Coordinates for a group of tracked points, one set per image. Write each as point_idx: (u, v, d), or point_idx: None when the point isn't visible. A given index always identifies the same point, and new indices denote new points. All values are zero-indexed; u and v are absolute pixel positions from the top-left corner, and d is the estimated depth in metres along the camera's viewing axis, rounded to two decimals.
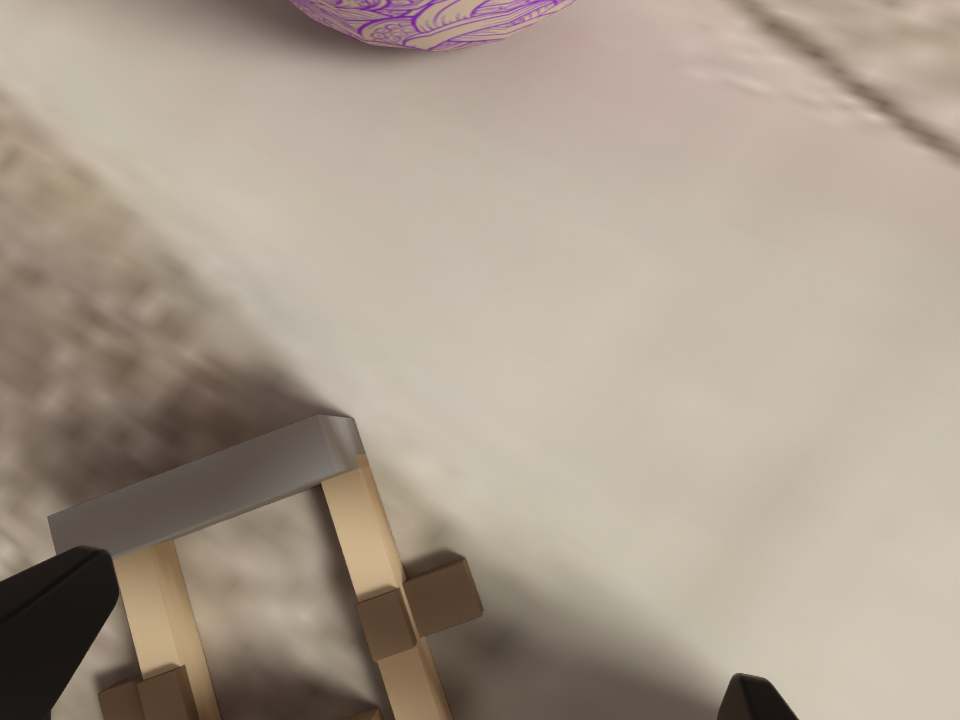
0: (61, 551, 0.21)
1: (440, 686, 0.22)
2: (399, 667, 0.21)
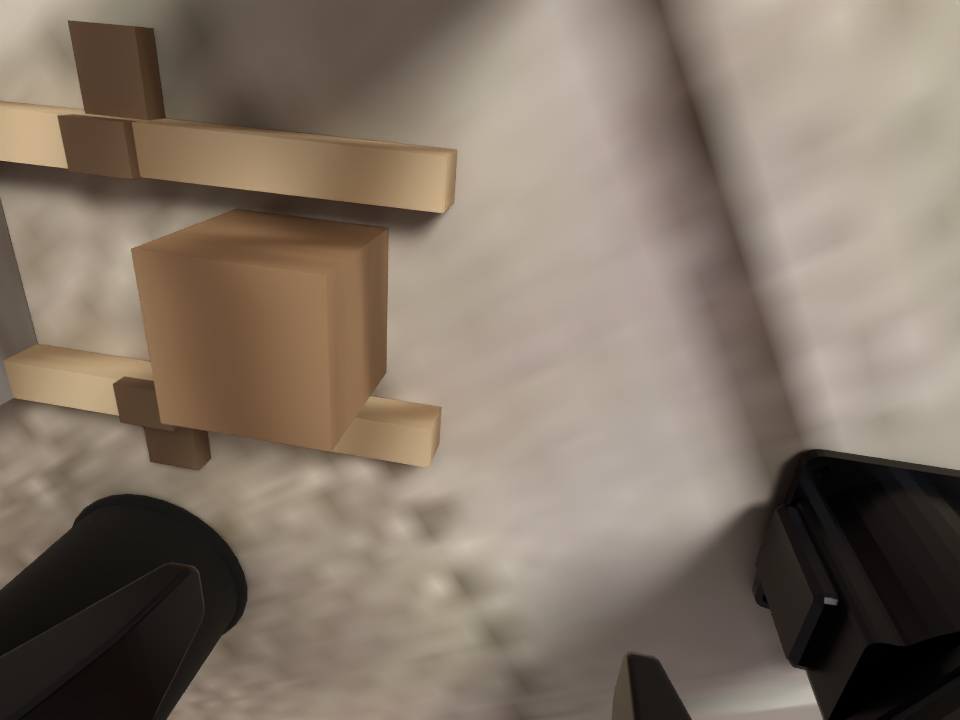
0: None
1: (222, 125, 0.18)
2: (154, 154, 0.17)
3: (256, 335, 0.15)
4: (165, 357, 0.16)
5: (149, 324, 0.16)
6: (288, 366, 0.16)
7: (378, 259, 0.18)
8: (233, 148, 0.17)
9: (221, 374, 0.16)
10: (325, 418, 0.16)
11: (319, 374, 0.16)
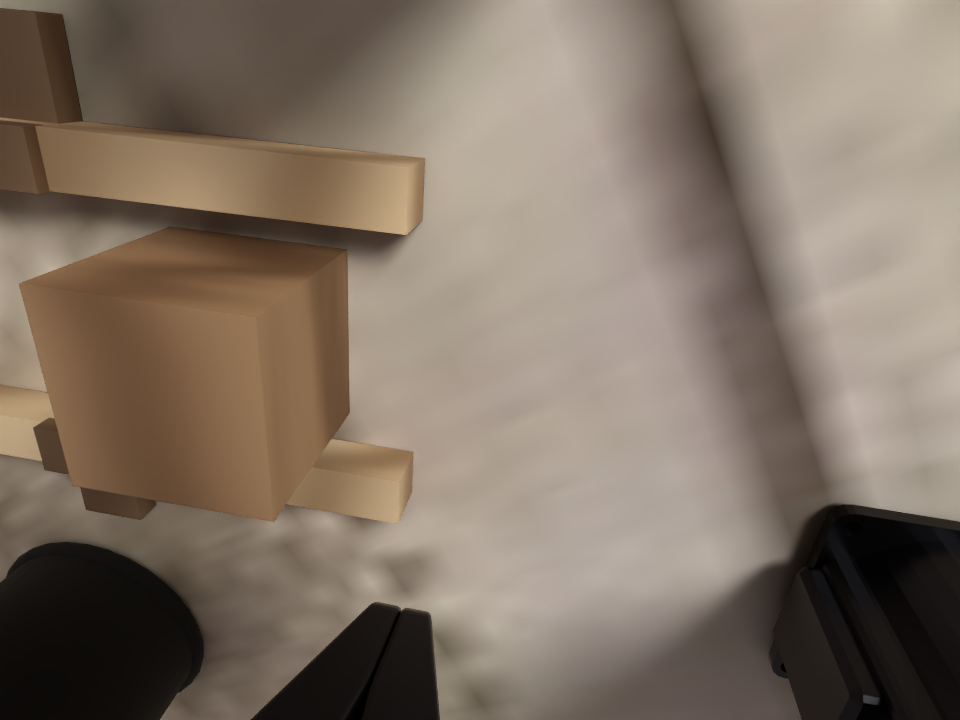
0: None
1: (148, 129, 0.15)
2: (64, 164, 0.15)
3: (176, 387, 0.13)
4: (71, 411, 0.13)
5: (49, 372, 0.13)
6: (216, 423, 0.13)
7: (333, 287, 0.15)
8: (156, 158, 0.14)
9: (138, 431, 0.13)
10: (264, 484, 0.13)
11: (254, 433, 0.13)
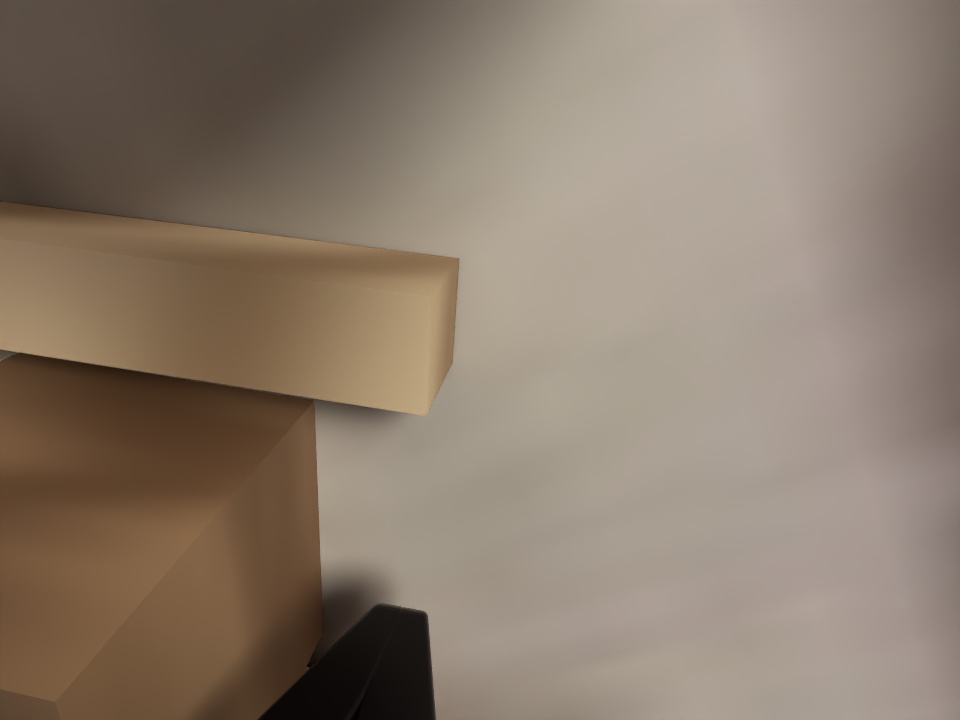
0: None
1: None
2: None
3: None
4: None
5: None
6: None
7: (285, 480, 0.09)
8: None
9: None
10: None
11: None
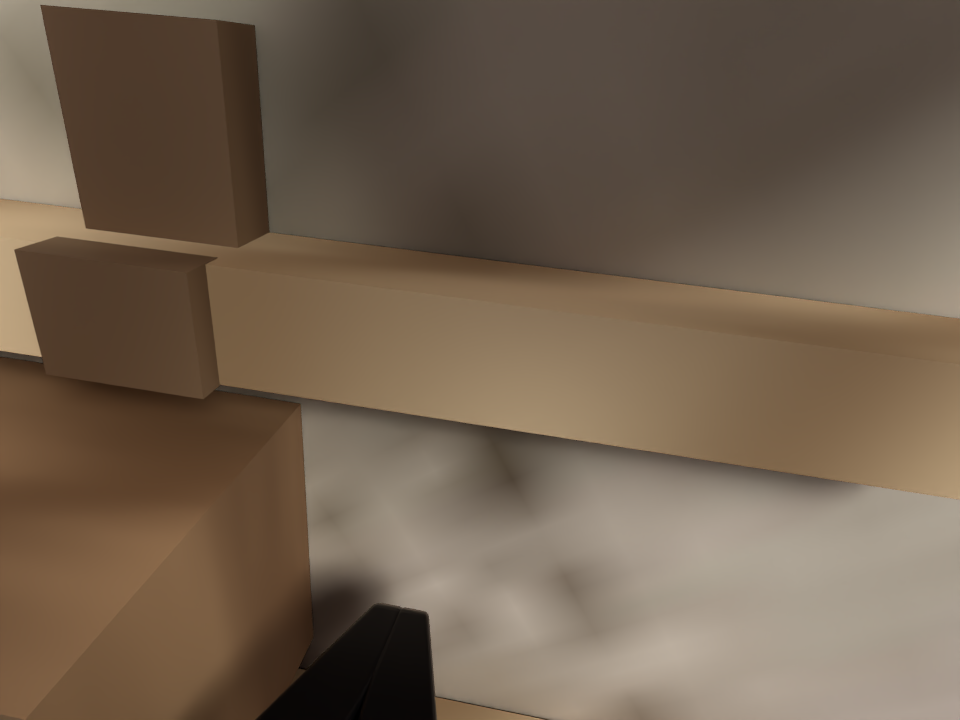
0: None
1: (411, 254, 0.08)
2: (259, 338, 0.07)
3: None
4: None
5: None
6: None
7: (270, 485, 0.08)
8: (470, 336, 0.07)
9: None
10: None
11: None
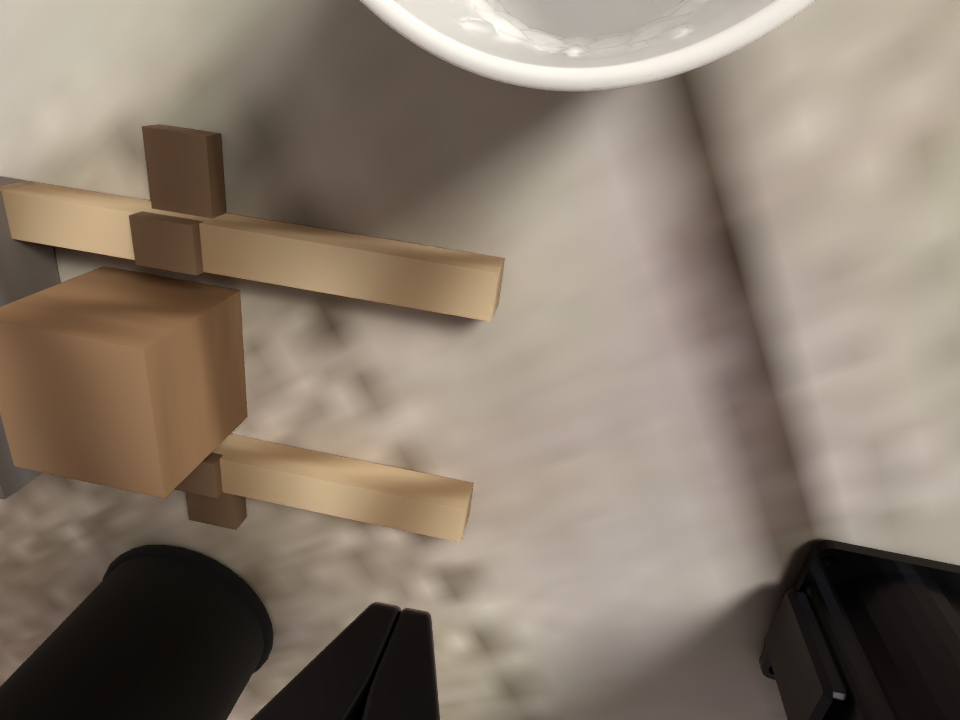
0: None
1: (282, 224, 0.19)
2: (218, 252, 0.18)
3: (89, 396, 0.17)
4: (12, 410, 0.18)
5: None
6: (119, 423, 0.17)
7: (225, 320, 0.20)
8: (295, 253, 0.18)
9: (62, 427, 0.18)
10: (156, 469, 0.18)
11: (146, 432, 0.17)
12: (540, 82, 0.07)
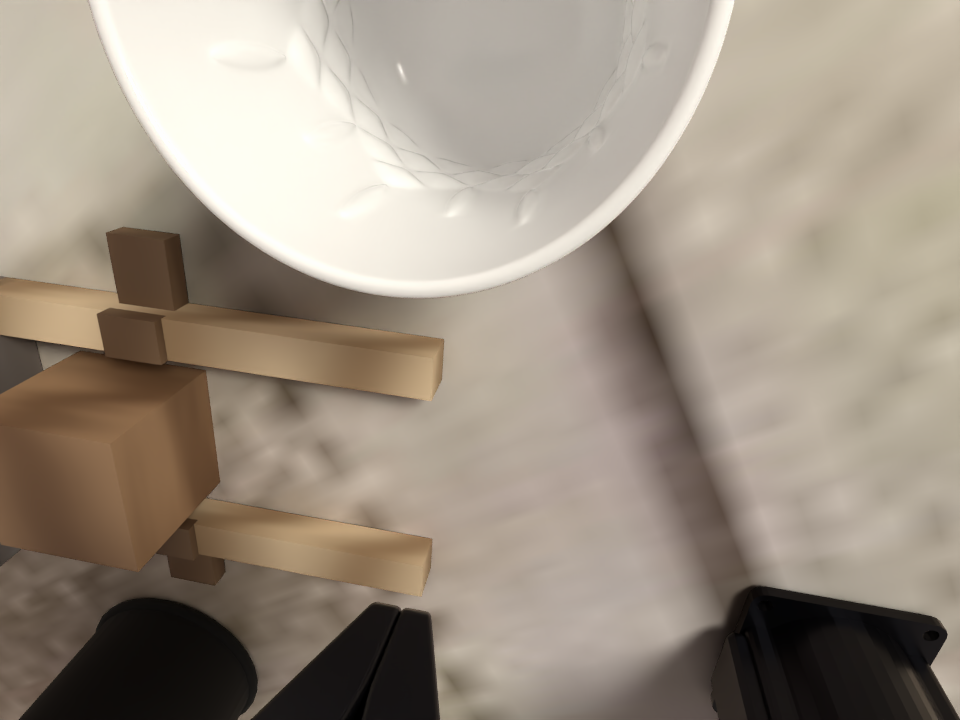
0: None
1: (239, 312, 0.21)
2: (180, 343, 0.20)
3: (65, 484, 0.19)
4: None
5: None
6: (93, 507, 0.19)
7: (192, 400, 0.22)
8: (249, 343, 0.20)
9: (43, 511, 0.19)
10: (129, 547, 0.19)
11: (118, 514, 0.19)
12: (385, 292, 0.09)
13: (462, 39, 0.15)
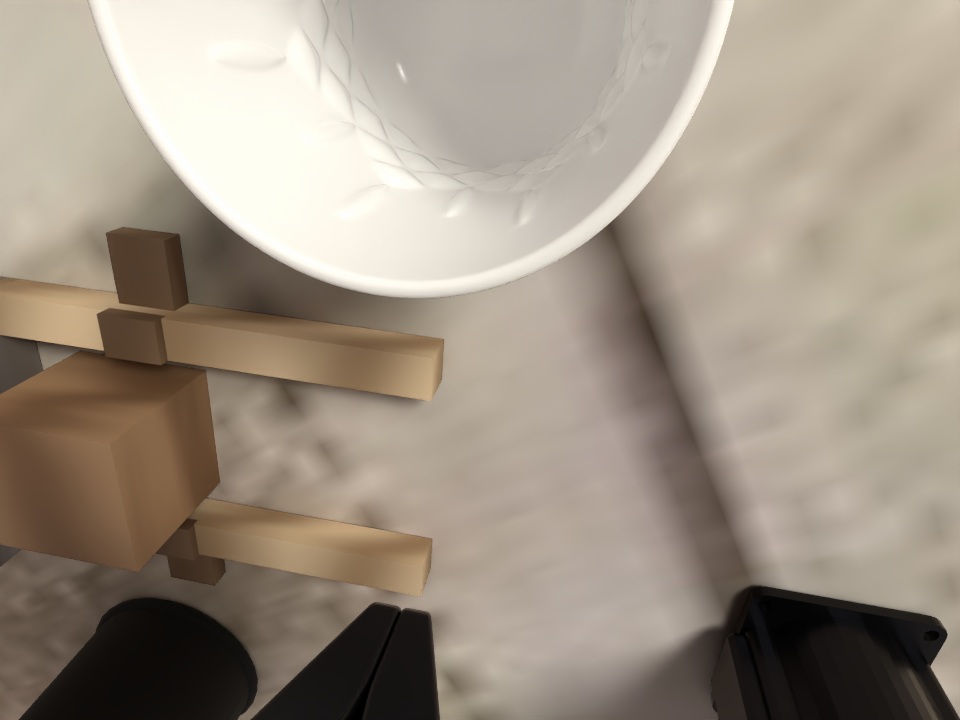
0: None
1: (239, 312, 0.21)
2: (180, 344, 0.20)
3: (64, 484, 0.19)
4: None
5: None
6: (92, 507, 0.19)
7: (192, 400, 0.22)
8: (249, 343, 0.20)
9: (42, 511, 0.19)
10: (129, 547, 0.20)
11: (117, 515, 0.19)
12: (384, 292, 0.09)
13: (462, 39, 0.15)
